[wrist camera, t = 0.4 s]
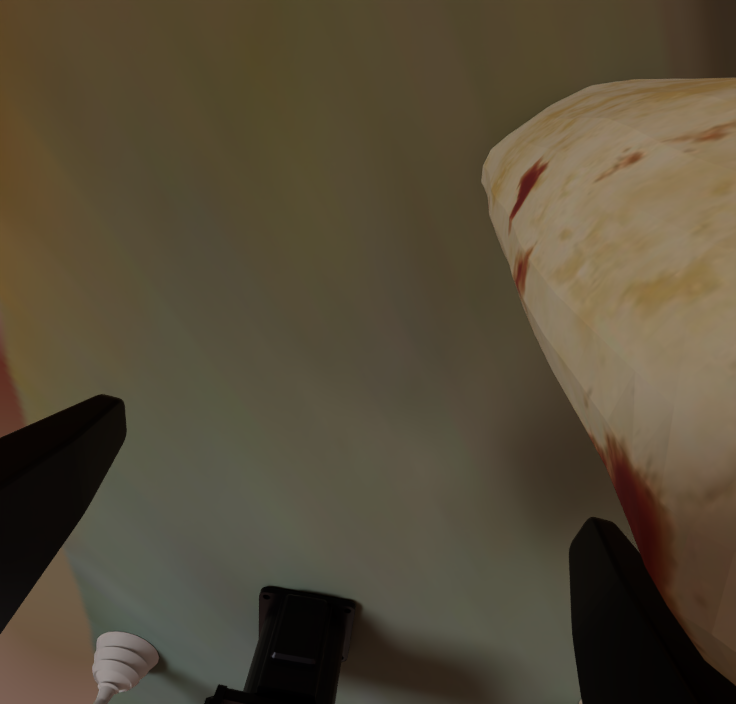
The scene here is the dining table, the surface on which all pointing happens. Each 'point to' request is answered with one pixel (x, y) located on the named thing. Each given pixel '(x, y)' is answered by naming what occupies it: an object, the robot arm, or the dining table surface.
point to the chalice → (121, 663)
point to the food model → (641, 312)
